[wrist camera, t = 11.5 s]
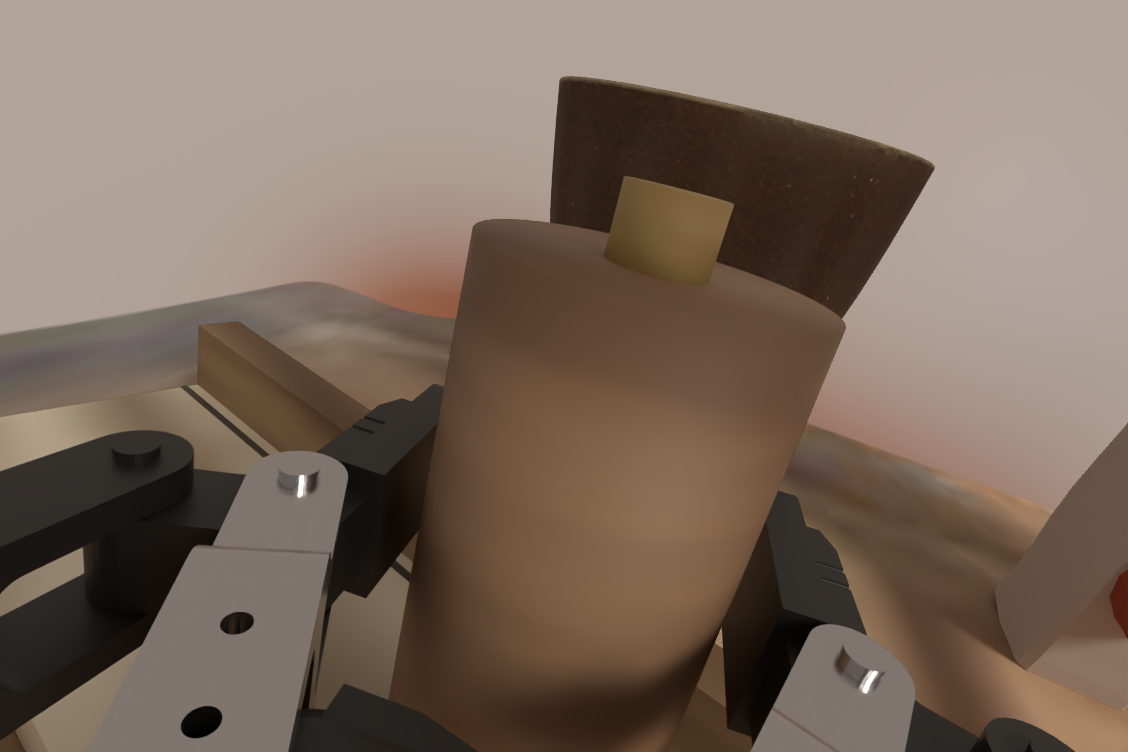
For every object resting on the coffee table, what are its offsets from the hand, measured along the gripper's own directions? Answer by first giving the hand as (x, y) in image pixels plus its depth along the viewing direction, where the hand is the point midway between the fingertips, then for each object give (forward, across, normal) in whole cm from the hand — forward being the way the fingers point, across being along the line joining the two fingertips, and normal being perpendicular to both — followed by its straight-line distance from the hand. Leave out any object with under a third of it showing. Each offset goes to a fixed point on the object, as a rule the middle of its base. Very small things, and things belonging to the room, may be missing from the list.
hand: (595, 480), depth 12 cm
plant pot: (+17, -1, +8) cm, 19 cm away
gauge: (0, 0, +6) cm, 6 cm away
